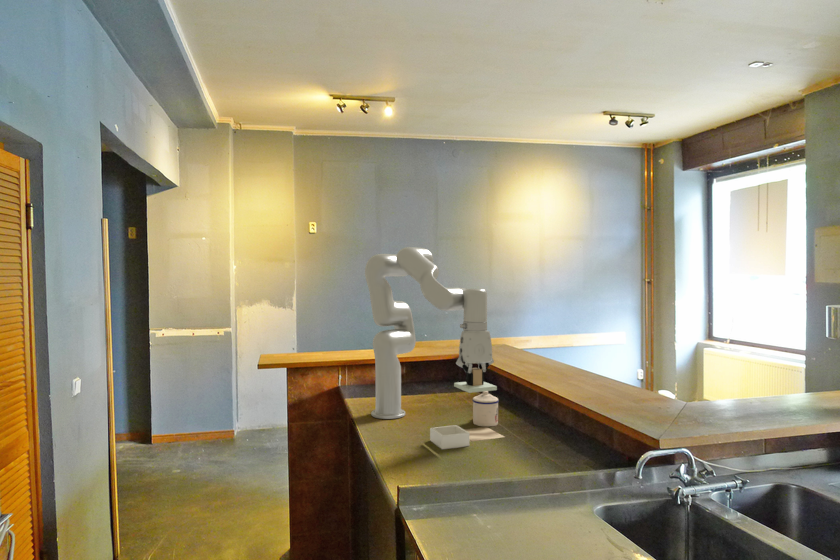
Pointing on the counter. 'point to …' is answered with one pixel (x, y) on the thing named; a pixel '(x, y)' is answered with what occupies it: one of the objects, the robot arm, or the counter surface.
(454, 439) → the white open square tray
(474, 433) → the mat
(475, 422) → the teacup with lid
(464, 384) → the lid
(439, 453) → the counter surface
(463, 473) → the counter surface
